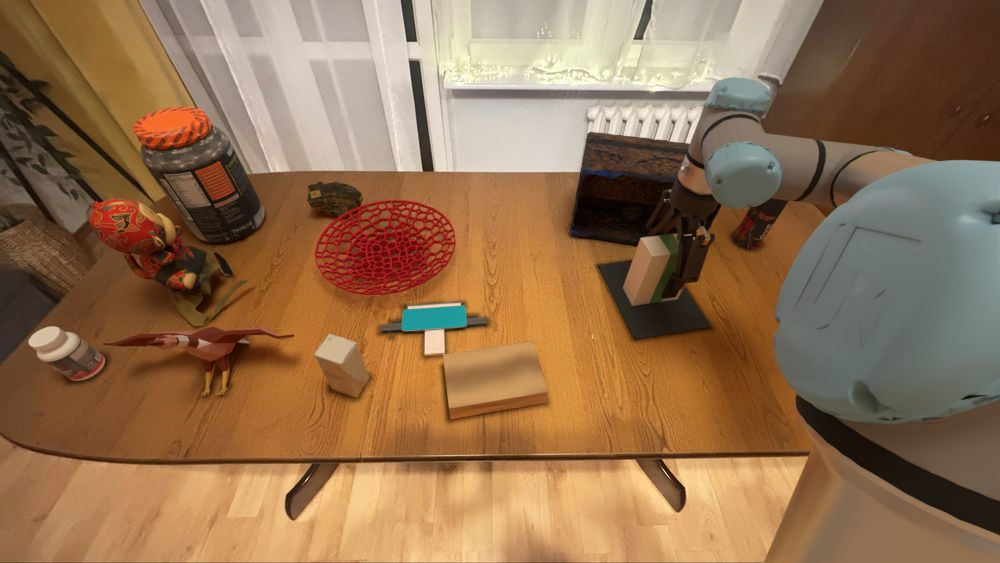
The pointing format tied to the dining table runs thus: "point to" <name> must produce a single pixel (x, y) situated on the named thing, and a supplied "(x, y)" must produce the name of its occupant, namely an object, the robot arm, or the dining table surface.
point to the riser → (493, 379)
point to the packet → (652, 269)
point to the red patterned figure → (160, 253)
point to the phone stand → (434, 322)
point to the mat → (652, 308)
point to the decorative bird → (201, 346)
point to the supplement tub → (199, 173)
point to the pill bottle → (67, 353)
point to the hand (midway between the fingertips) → (657, 279)
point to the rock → (334, 198)
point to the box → (342, 365)
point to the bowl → (385, 249)
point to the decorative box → (625, 185)
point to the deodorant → (758, 223)
